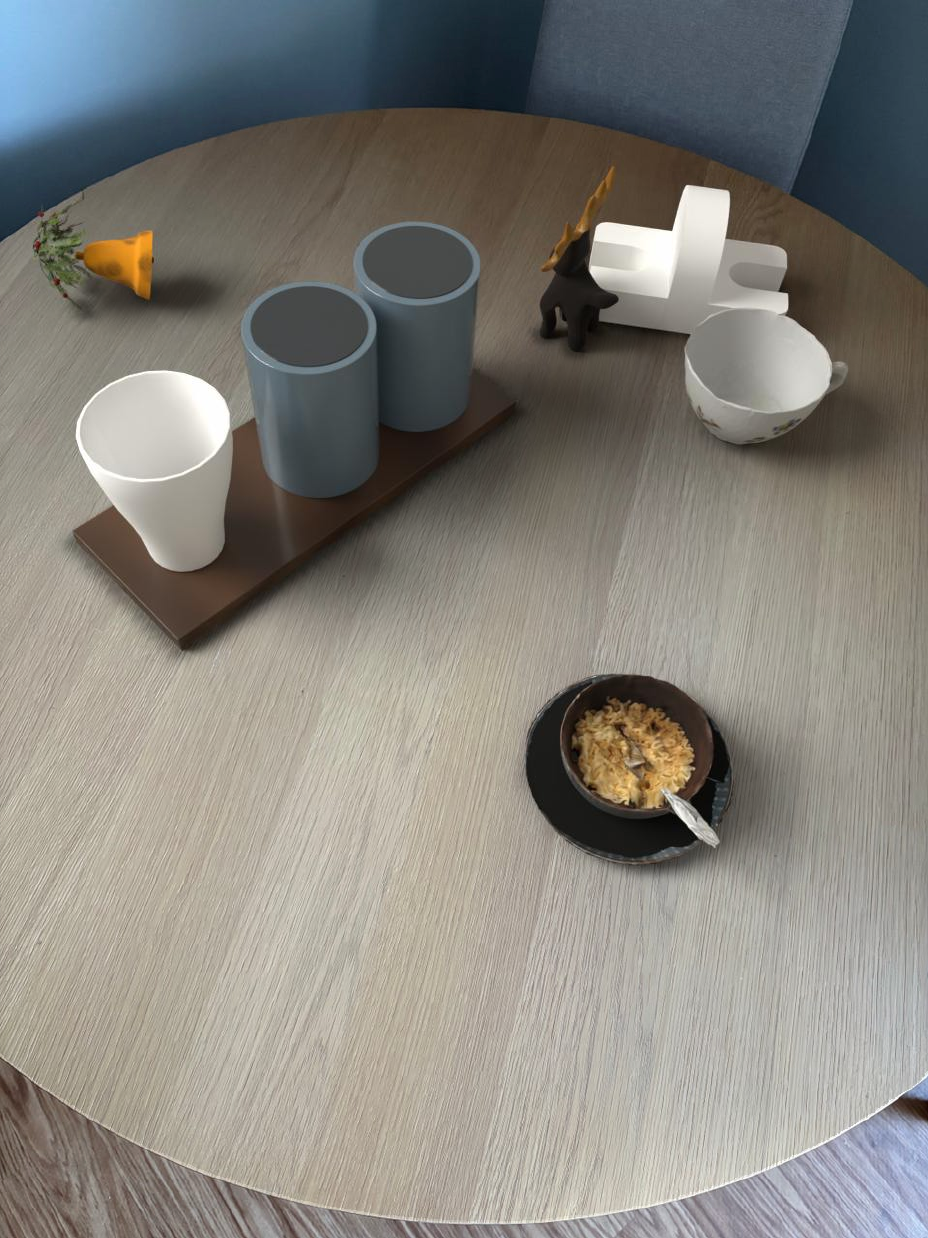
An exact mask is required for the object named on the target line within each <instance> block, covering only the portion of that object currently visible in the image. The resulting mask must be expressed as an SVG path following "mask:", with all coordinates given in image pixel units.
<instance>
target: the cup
mask: <svg viewBox="0 0 928 1238" xmlns="http://www.w3.org/2000/svg"><path fill="white" fill-rule="evenodd" d="M228 405H229V404H228V403H227V401H226V399H225V397H223V395H222V394H221V393H220V392H219V390H218V389H217V388H215V387H214V386H212V385H211V384H209V383H208V382H207V381H205V380H203V379H202V378H200V377H197V376H194V375H191V374H188V373H186V372H180V371H172V370H146V371H143V372H138V373H133V374H129V375H126V376H124V377H122V378H119V379H117V380H115V381H112V382H110V383H109V384H107V385H106V386H104V387H103V388H102V389H100V390H99V391H98V392H96V393H95V394H93V396H92V397H91V398H90V400H89V401H88V402H87V403H86V404H85V405H84V407H83V409H82V410H81V413H80V415H79V417H78V419H77V421H76V429H75V430H76V432H75V439H76V442H77V446H78V450H79V452H80V454H81V457H82V458H83V460H84V462H85V464H86V466H87V468H88V470H89V472H90V474H91V475H92V477H93V478H94V480H95V481H96V483H97V484H98V485H99V487H100V489H102V491H103V492H104V494H105V495H106V496H107V498H108V499H109V500H110V502H111V503H112V506H113V505H114V506H115V507H116V509H117V510H118V511H119V512H120V513H121V514H122V515H123V516H124V517H125V519H126V520H127V521H128V522H129V523H130V524H131V525H132V526H133V527H134V529H135V530H136V531H137V533H138V534H139V535H140V536H141V538H142V540H143V542H144V544H145V546H146V548H147V550H148V552H149V553H150V555H151V557H152V558H153V559H154V561H155V562H156V563H158V564H159V565H160V566H162V567H164V568H166V569H169V570H172V571H179V572H184V571H193V570H196V569H200V568H202V567H204V566H206V565H208V564H210V563H211V562H212V561H213V560H215V559H216V558H217V557H218V555H219V554H220V552H221V551H222V549H223V546H224V543H225V531H224V513H225V504H226V498H227V494H228V489H229V484H230V479H231V467H232V455H233V436H232V431H233V425H232V414H231V410H230V408H229V406H228Z"/></svg>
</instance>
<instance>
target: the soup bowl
mask: <svg viewBox="0 0 928 1238" xmlns="http://www.w3.org/2000/svg"><path fill="white" fill-rule="evenodd" d="M525 740H526V741H525V750H524V751H525V754H524V764H523V765H524V772H525V773H524V774H525V777H526V780H527V784H528V787H529V790H530V794H531V797H532V799H533V801H534V802H535V805H536V806H537V809H538V810H539V811H540V813H541V814H542V815H543V816H544V818H545V820H546V821H547V823H548V824H549V825H550V826H551V827H552V828H553V829H554V831H555V833H557V834H558V835H559V836H561V837H562V839H563V840H564V841H565V842H567V843H569V844H570V845H571V846H573V847H575V848H576V849H578V850H580V851H581V852H583V853H585V854H587V855H588V856H592V857H594V858H597V859H600V860H604V861H607V862H609V863H610V862H611V863H613V864H623V865H631V866H633V865H636V866H641V865H642V866H643V865H644V866H645V865H656V864H659V863H663V862H665V861H668V860H672V859H675V858H678V857H680V856H683V855H684V854H686V853H688V852H689V851H691V850H693V849H695V848H696V847H697V846H698V845H699V844H701V843H706V844H707V845H709V846H712V847H713V848H714V849H717V846H718V845H719V844H720V839H719V837H718V835H717V833H716V832H715V831H714V829H715V828H717V827H718V826H719V825H720V824H721V823H722V821H723V818H724V816H725V814H726V813H727V812H728V810H729V808H730V806H731V803H732V799H733V795H734V794H733V793H734V783H735V779H734V775H733V772H734V771H733V765H732V755H731V753H730V750H729V745H728V744H727V741H726V739H725V738H724V736H723V734H722V731H721V730H720V728H719V726H718V724H717V723H716V721H715V719H714V718H713V717H712V715H711V714H710V713H709V712H708V711H707V710H706V709H705V707H703V705H701V704H700V703H699V702H698V701H697V700H696V699H695V698H693V697H691V695H689V694H688V693H686V692H685V691H684V690H683V689H680V688H679V687H678V686H676V685H675V684H673V683H671V682H669V681H667V680H663V679H658V678H657V677H656V678H655V677H654V676H651V675H644V674H643V675H642V674H637V673H635V674H634V673H607V674H594V675H590V676H588V677H585V678H583V679H581V680H577V681H575V682H573V683H572V684H569V685H567V686H566V687H565V688H563V689H562V690H561V691H558V692H557V693H556V694H555V695H553V697H552V698H550V699H548V700H547V702H546V703H545V704H544V705H543V706H542V707H541V708H540V710H539V711H538V712H537V714H536V715H535V718H534V720H533V721H532V722H531V724H530V725H529V728H528V730H527V734H526V739H525Z"/></svg>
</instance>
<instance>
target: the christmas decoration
mask: <svg viewBox="0 0 928 1238" xmlns="http://www.w3.org/2000/svg"><path fill="white" fill-rule="evenodd" d="M81 182H82V183H81V184H82V185H81V188H82V189H81V193H82V195H81V198H82V199H81V200H79V201H77V202H75V203H73V204H72V203H70V204H68V205H67V206H66V207H65V208H63V209H62V210H61V211H59V212H58V210H56V211H54V213H52V214H51V215H50V216H49V217H48V219H45V221H44V219H43V218H44V216H45V213H44V208H43V205H41V211H39V212H38V217H40V218H41V221H40V223H39V225H38V226H37V228H36V229H37V237H36V238H35V239H34V241H33V243H32V250H33V254H34V255H33V258H32V260H37V259H38V260H39V265H40V270H41V271H42V272H43V275H45V277H46V278H47V280H48V281H49V284H50V285H51V287H52V288H54V289H55V290H57V291H58V292H59V293H60V294H61V296H62V298H64V299H67V300H69V301H70V303H71V304H72V305H74V306H76V308H78V309H79V310H80V311H82V312H84V309H83V307H82V306H81V305H79V304H78V303H77V302H76V301H75V300H73V298H71V297H70V294H69V292H68V291H67V289H65V288H64V287H63V286H62V284H61V282H62V283H64V284H65V285H68V286H69V287H73V288H75V289H77V286H75V285H81V287H86V286H87V285H86V284H87V283H84V282H82V281H83V276H82V274H84V276H86V277H87V279H88V278H89V279H90V280H91V281H93V277H92V274H95V275H96V276H99V277H102V278H104V279H107V280H109V281H112V282H115V283H119V284H122V285H124V286H126V287H128V288H130V289H132V290H133V292H134V293H135V294H136V296H138V297H141V298H143V299H145V300H148V301H149V300H150V296H151V284H152V270H153V269H152V268H153V264H154V262H155V259H154V256H153V239H154V238H153V230H144V231H143V230H142V231H139V232H138V233H137V234H136V236H132V237H128V238H122V239H106V240H105V239H104V240H98V241H93V242H91V243H89V244H87V245H86V246H85V247H84V249H83V252H82V251H76V252H75V249H74V248H78V247H80V246H82V244H83V241H81V239H80V238H82V237H86V235H87V234H88V233H89V229H88V230H86V228H84V229H83V231H81V233H80V232H78V231H77V232H76V233H74V234H72V235H71V233H73V228H74V227H76V226H80V225H82V224H84V221H83V222H82V221H81V222H80V223H73V224H70V225H68V226H67V227H66V228H63V229H60V227H62V226H63V225H66V224H67V222H68V219H69V214H68V215H66V218H65V219H63V220H60V219H61V216H62V215H65V214H67V212H68V211H69V210H70V209H71V208H72V207H75V205H78V204H79V203H81V202H82V201H84V199H85V196H84V195H85V193H84V184H83V181H81ZM60 215H61V216H60ZM59 216H60V217H59ZM47 228H48V229H47ZM41 234H42V235H41ZM41 236H42V237H41ZM66 253H67V254H68V255H67V254H66ZM73 255H74V256H73ZM56 257H57V260H56ZM80 261H83V265H84V266H82V265H80V264H79V263H80ZM43 263H44V264H43ZM63 268H64V269H63ZM68 268H69V269H68ZM74 268H75V269H74ZM44 270H45V271H48V273H49V274H46V273H45V272H44ZM54 272H55V273H54ZM81 272H82V273H81ZM90 272H91V273H92V274H91V273H90ZM79 291H81V292H82V293H83V294H84V295H85V296H86V297H87V298H89V296H88V295H87V294H86V293H85V292H84V291H82V290H80V289H79Z"/></svg>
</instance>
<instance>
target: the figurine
mask: <svg viewBox="0 0 928 1238" xmlns="http://www.w3.org/2000/svg"><path fill="white" fill-rule="evenodd" d="M608 171H609V172H608V173H607V175H606V177H605V179H604V180H602V181H601V182H600V184H599V186H598V188H597V190H596V191H595V192H594V194H593V195H591V197H590V198H589V199H588V201H587V204H586V206H585V209H584V212H583V214H582V216H581V219H580V220H579V222H578V223H577V224H576V226H575V227H574V228H573V226H572V224H571V222H570V221H567V222H566V223H565V228H564V231H563V235H562V237H561V238H560V239H559V241H558V242H557V243H556V244H555V246H554V247H553V249H552V250H551V252H550V255H549V258H548V261H547V262H546V263H544V264H542V265H541V266H540V271H541V272H544V273H547V272H549V271H551V270H552V271H554V275H553V278H552V279H551V281H550V283H549V285H548V287H547V289H546V290H545V291H544V293H543V294H542V296H541V298H540V301H539V309H540V314H541V318H542V322H541V326H540V331H539V336H540V337H541V338H542V339H547V338H549V337H550V336H551V335H553V333H554V332H555V330H556V327H557V325H558V322H557V321H558V319H557V318H558V317H557V312H556V308H558V309H559V310H558V312H559V317H560V319H561V321H563V322H566V324H567V345H568V347H569V348H570V349H571V350H572V351H574V352H579V351H580V350H583V349H584V347H585V346H586V344H587V341H588V333H589V334H593V333H596V332H598V331H599V329H600V321H599V312H600V309H607V308H609V307H611V306H613V305H615V304H616V303H617V302H618V300H619V298H618V296H617V295H615V294H612V293H609V292H607V291H605V290H604V289H602V288H600V287H599V285H598V284H597V283H596V281H595V280H594V278H593V277H592V275H591V273H590V272H589V267H588V266H587V262H586V258H587V257H588V256H589V254H590V251H591V224H592V221H593V219H594V217H595V215H596V213H597V212H598V211H599V209H600V207H601V206H602V205H603V204H604V202H605V201H606V200H607V199H608V197H609V196H610V193H611V192H612V188H613V185H614V181H615V176H616V167H615V166H612V167H611V168H610V169H609V170H608Z"/></svg>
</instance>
